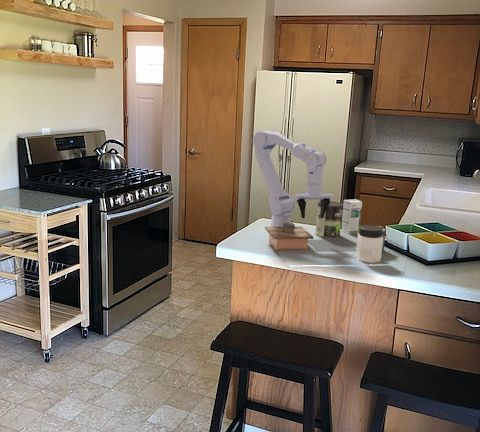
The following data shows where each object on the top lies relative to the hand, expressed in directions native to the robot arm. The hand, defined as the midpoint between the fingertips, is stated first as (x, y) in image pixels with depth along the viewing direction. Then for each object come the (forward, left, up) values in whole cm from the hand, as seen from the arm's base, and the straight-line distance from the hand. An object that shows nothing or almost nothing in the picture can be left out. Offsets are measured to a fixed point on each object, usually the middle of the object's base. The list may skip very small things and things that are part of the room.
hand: (312, 217), depth 198 cm
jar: (+22, +15, -11) cm, 28 cm away
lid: (+3, -10, -5) cm, 12 cm away
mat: (+5, +7, -10) cm, 13 cm away
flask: (+14, +22, -11) cm, 28 cm away
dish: (+4, -10, -10) cm, 15 cm away
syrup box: (-15, +23, -11) cm, 29 cm away
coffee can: (-10, +11, -11) cm, 18 cm away
